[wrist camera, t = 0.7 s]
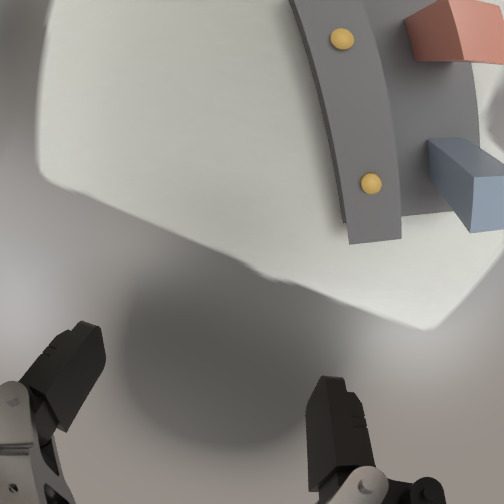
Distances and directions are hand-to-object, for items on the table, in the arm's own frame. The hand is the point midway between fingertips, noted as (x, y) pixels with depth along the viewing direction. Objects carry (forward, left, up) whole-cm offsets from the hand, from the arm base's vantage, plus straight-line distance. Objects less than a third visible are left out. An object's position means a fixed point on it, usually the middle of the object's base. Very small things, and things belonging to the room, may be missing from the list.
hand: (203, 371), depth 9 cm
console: (-4, +14, -28) cm, 32 cm away
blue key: (+3, +18, -27) cm, 33 cm away
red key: (-11, +18, -27) cm, 35 cm away
